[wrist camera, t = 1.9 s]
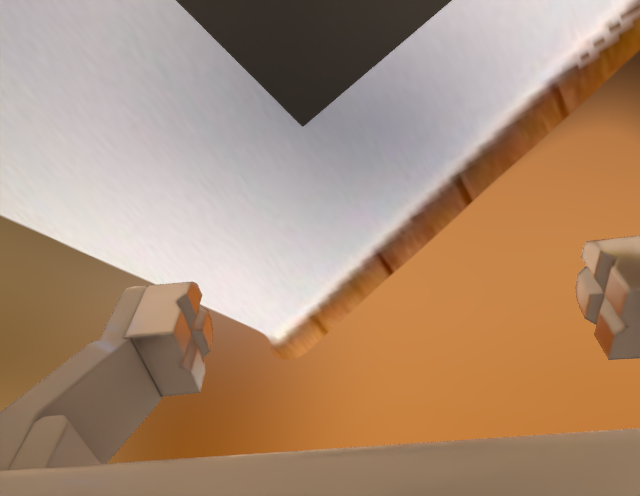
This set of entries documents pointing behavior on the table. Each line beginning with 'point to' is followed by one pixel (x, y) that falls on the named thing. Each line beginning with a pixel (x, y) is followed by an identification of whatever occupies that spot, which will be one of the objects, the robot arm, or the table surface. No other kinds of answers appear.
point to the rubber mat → (310, 42)
